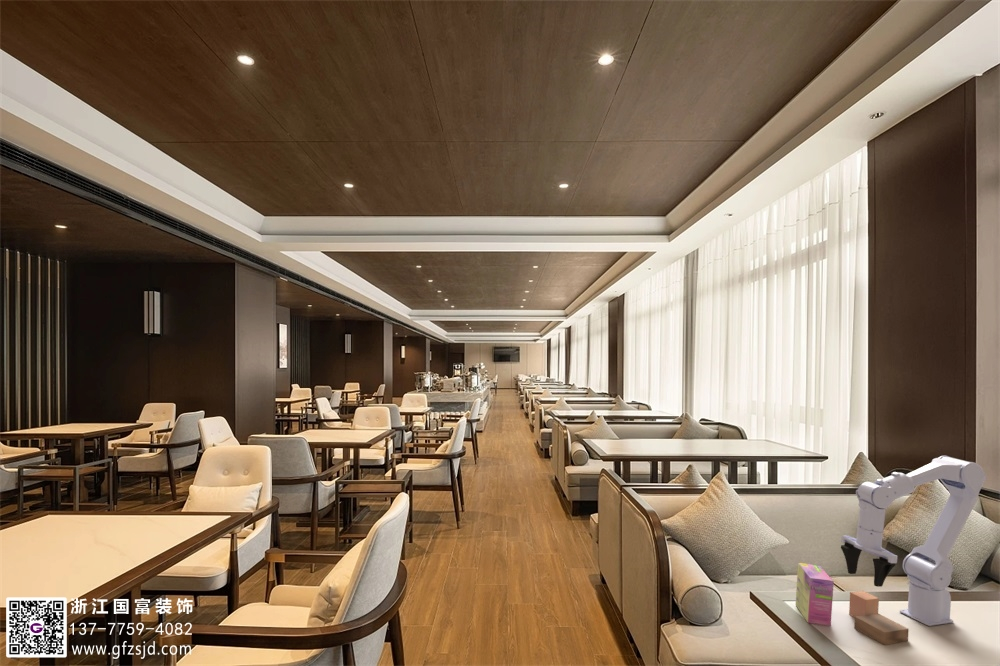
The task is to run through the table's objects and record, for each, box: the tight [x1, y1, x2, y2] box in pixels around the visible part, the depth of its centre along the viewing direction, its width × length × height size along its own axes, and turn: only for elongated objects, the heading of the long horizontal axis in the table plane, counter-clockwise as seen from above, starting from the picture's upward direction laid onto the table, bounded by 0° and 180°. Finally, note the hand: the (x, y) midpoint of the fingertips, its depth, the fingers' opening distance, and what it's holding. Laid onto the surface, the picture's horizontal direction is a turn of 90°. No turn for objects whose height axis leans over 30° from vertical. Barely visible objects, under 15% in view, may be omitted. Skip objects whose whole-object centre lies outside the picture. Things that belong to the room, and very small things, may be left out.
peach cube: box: [848, 590, 880, 618], centre depth 152 cm, size 5×5×6 cm
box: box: [795, 562, 835, 627], centre depth 152 cm, size 10×6×12 cm, turn 168°
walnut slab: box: [853, 612, 910, 646], centre depth 143 cm, size 8×8×3 cm
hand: (864, 579), depth 152 cm, fingers open, 7 cm apart
